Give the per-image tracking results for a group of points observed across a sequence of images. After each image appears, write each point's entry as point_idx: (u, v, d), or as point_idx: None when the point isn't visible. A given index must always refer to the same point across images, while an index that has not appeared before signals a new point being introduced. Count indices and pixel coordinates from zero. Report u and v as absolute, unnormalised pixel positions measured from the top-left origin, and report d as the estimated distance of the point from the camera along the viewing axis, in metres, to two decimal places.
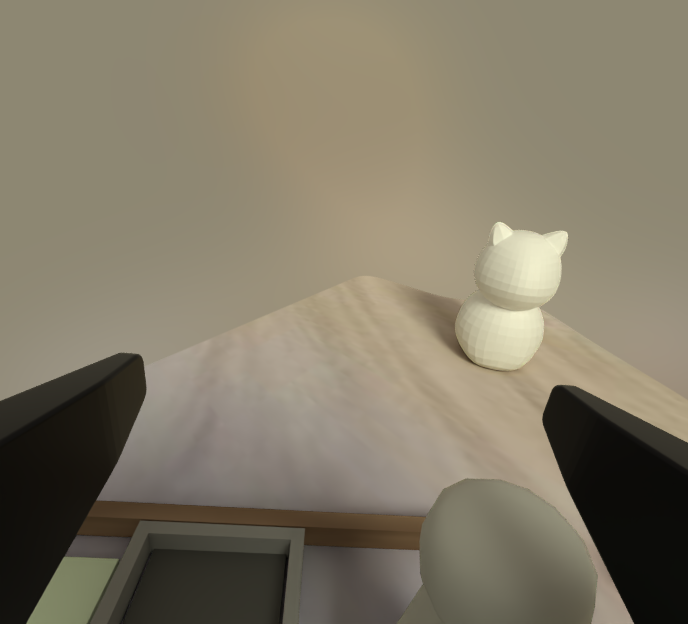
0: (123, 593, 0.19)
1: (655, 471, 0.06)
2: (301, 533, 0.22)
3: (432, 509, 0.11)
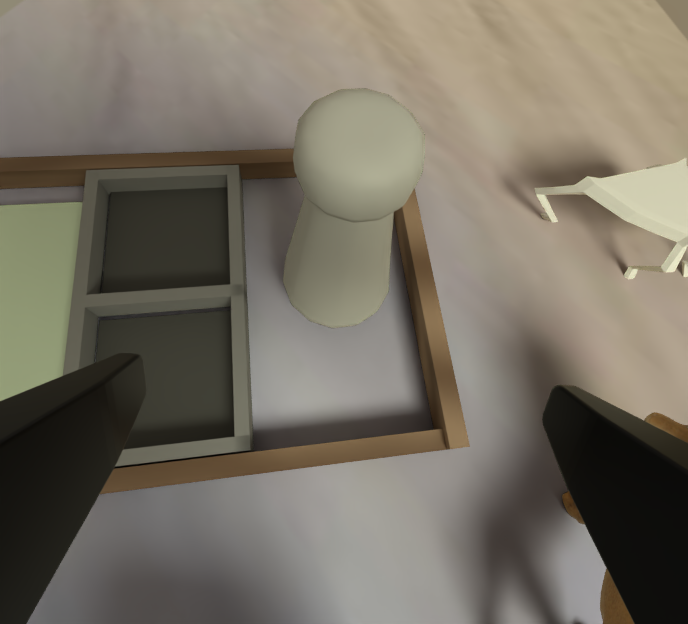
0: (96, 223, 0.23)
1: (655, 471, 0.06)
2: (236, 169, 0.25)
3: (300, 118, 0.13)
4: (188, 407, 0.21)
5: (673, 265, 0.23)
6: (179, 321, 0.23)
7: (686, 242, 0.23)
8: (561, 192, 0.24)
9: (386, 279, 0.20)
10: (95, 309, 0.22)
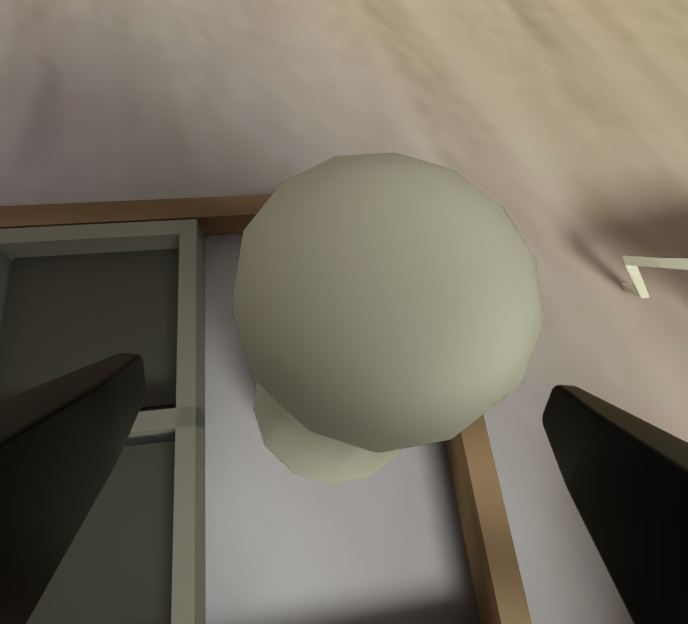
0: None
1: (655, 471, 0.06)
2: (193, 225, 0.18)
3: (246, 230, 0.05)
4: (105, 609, 0.14)
5: None
6: None
7: None
8: (668, 266, 0.17)
9: None
10: None
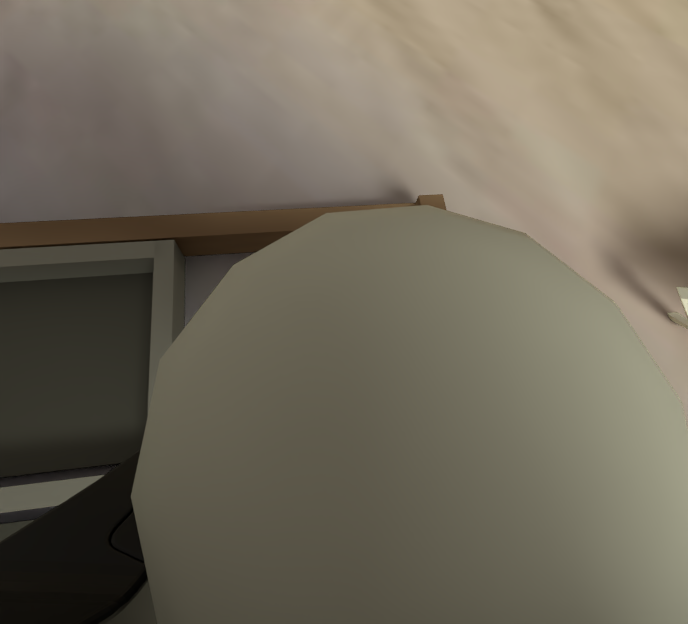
0: None
1: None
2: (170, 247, 0.15)
3: (164, 360, 0.03)
4: None
5: None
6: None
7: None
8: None
9: None
10: None
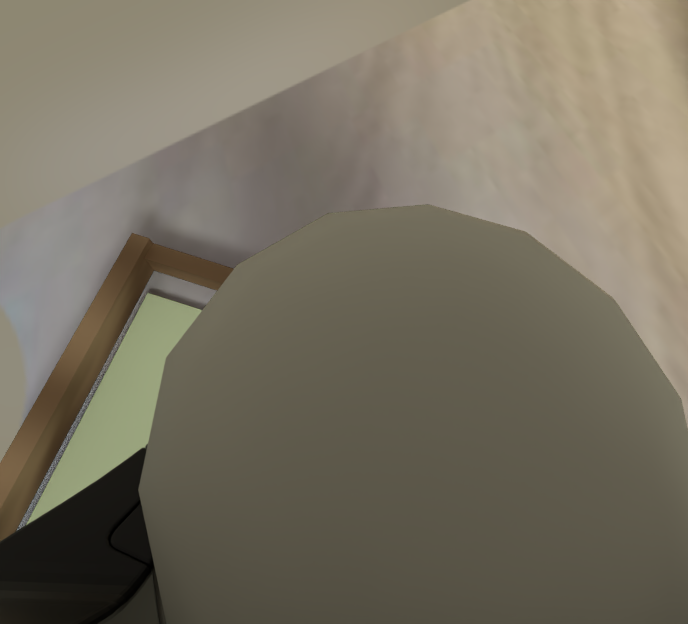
0: None
1: None
2: None
3: (170, 358, 0.03)
4: None
5: None
6: None
7: None
8: None
9: None
10: None
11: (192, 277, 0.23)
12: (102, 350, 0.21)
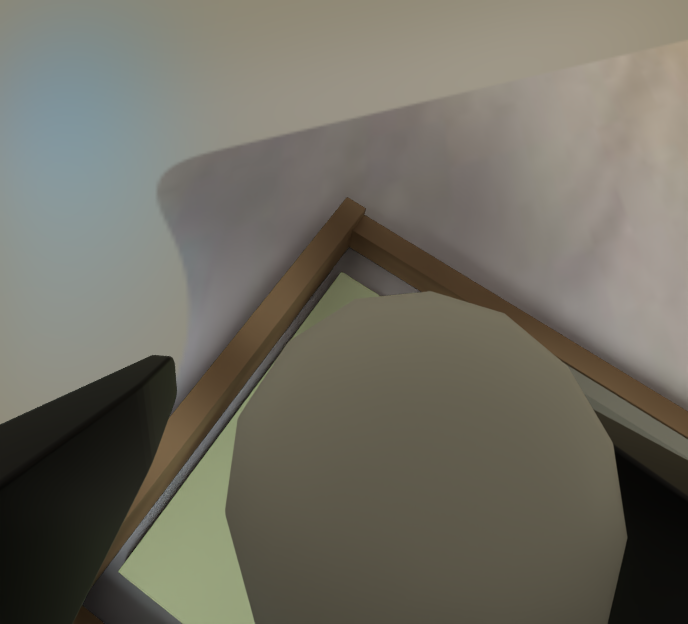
0: None
1: None
2: None
3: (243, 416, 0.04)
4: None
5: None
6: None
7: None
8: None
9: None
10: None
11: (398, 267, 0.19)
12: (283, 326, 0.17)
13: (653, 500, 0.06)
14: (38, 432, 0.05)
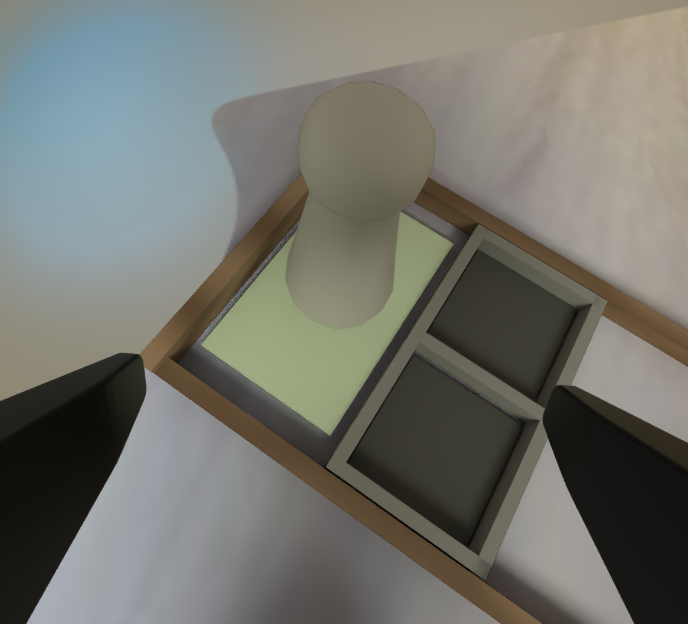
0: (460, 274, 0.24)
1: (655, 471, 0.06)
2: (603, 303, 0.24)
3: (305, 113, 0.12)
4: (442, 487, 0.21)
5: None
6: (475, 403, 0.23)
7: None
8: None
9: (391, 279, 0.20)
10: (421, 347, 0.23)
11: None
12: (303, 207, 0.25)
13: None
14: None
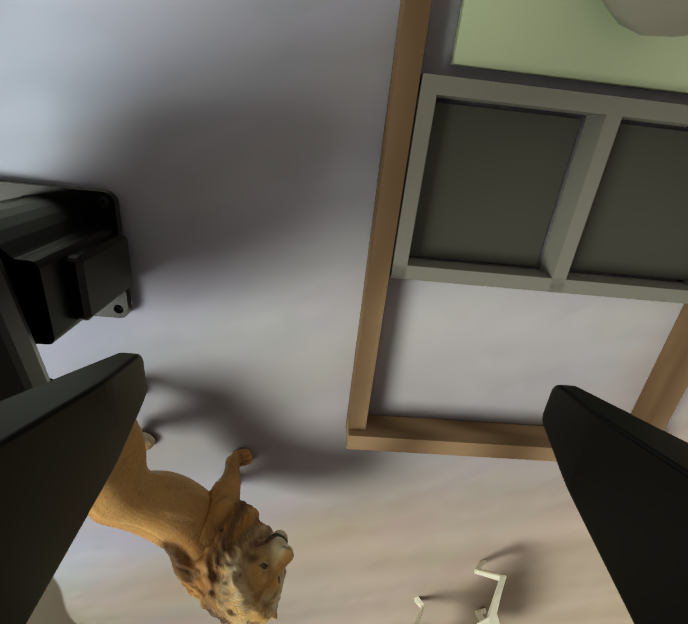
0: None
1: (655, 471, 0.06)
2: None
3: None
4: (447, 213, 0.20)
5: None
6: (544, 211, 0.20)
7: None
8: (494, 599, 0.28)
9: None
10: (597, 121, 0.18)
11: None
12: None
13: None
14: None
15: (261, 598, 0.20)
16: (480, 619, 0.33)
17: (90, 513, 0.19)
